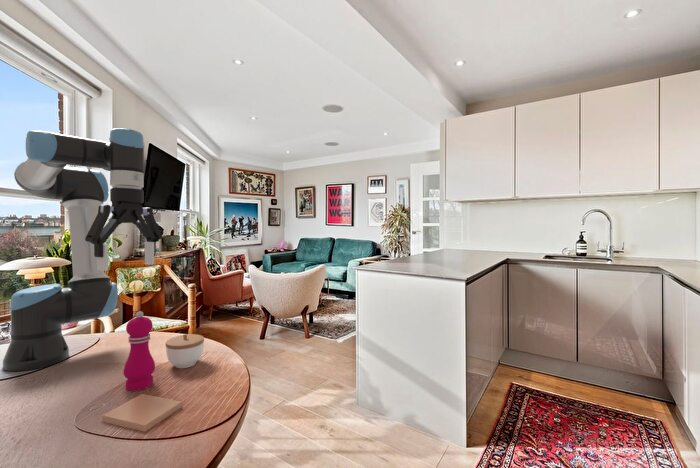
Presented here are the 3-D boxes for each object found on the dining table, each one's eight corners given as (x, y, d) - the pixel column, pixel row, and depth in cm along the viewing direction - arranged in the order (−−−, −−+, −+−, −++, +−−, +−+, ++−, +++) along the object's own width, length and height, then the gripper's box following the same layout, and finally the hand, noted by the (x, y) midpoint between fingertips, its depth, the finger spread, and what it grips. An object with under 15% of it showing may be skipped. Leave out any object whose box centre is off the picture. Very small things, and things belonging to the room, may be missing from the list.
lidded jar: (210, 358, 109) (210, 329, 109) (191, 372, 99) (191, 341, 98) (179, 356, 110) (179, 328, 110) (157, 370, 100) (157, 339, 99)
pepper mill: (161, 381, 93) (161, 309, 92) (137, 393, 86) (137, 316, 85) (141, 377, 95) (141, 307, 95) (116, 389, 88) (116, 313, 88)
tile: (102, 415, 74) (145, 425, 70) (142, 393, 83) (181, 401, 80) (102, 423, 74) (144, 433, 70) (142, 401, 83) (181, 409, 80)
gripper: (89, 181, 77) (89, 273, 78) (175, 192, 101) (175, 262, 102) (66, 182, 80) (67, 272, 80) (155, 193, 103) (156, 261, 104)
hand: (127, 267), depth 91 cm, fingers open, 13 cm apart
